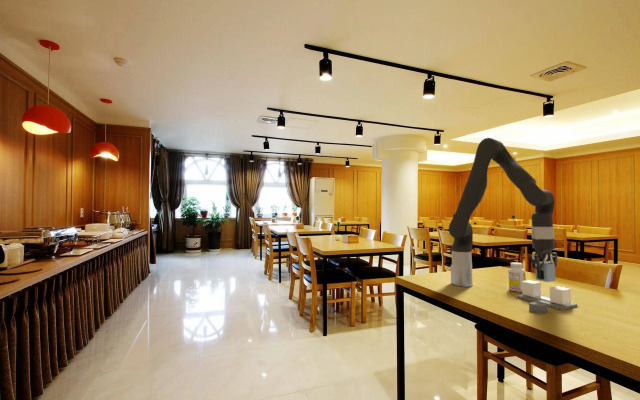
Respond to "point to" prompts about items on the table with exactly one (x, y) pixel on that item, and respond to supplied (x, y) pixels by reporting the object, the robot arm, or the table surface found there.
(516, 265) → the supplement bottle
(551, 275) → the block
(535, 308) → the dark grey block
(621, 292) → the table surface
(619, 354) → the table surface
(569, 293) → the din rail
